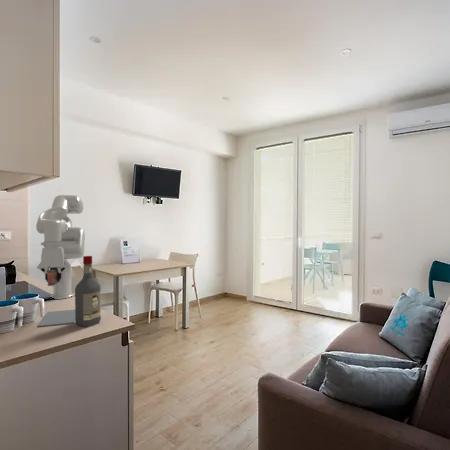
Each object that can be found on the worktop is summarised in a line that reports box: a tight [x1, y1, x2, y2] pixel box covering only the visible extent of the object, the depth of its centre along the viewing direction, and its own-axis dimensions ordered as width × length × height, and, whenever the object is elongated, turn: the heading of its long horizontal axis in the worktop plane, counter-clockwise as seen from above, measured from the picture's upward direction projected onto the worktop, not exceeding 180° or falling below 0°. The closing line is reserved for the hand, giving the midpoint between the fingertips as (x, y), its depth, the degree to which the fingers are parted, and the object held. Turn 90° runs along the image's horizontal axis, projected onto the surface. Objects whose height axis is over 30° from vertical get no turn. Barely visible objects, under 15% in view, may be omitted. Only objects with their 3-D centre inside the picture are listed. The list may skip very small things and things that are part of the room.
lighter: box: [47, 266, 61, 287], centre depth 158 cm, size 8×3×10 cm, turn 174°
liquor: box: [74, 255, 102, 328], centre depth 140 cm, size 9×9×30 cm
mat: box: [37, 309, 75, 328], centre depth 147 cm, size 20×14×1 cm
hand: (53, 280), depth 158 cm, fingers closed on lighter, 4 cm apart
